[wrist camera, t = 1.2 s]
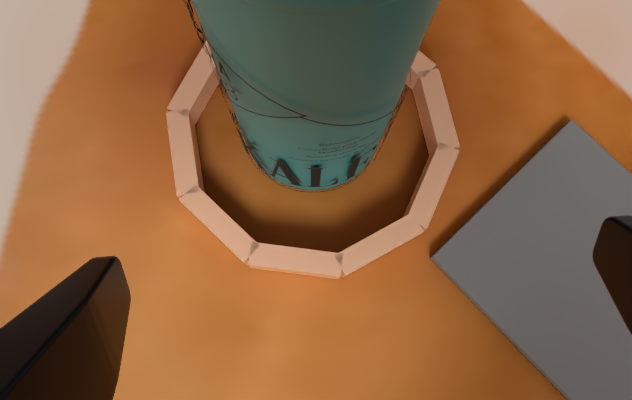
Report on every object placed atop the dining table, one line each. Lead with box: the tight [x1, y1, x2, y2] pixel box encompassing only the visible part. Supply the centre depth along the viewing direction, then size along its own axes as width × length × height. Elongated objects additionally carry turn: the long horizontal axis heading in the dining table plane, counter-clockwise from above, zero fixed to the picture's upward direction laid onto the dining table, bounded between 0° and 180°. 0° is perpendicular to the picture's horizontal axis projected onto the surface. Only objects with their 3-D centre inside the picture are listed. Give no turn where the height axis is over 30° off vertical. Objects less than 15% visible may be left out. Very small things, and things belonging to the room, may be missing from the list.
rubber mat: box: [430, 120, 632, 400], centre depth 22 cm, size 16×10×1 cm, turn 43°
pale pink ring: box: [166, 40, 460, 279], centre depth 23 cm, size 13×14×2 cm
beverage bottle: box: [184, 0, 440, 192], centre depth 14 cm, size 6×7×20 cm
